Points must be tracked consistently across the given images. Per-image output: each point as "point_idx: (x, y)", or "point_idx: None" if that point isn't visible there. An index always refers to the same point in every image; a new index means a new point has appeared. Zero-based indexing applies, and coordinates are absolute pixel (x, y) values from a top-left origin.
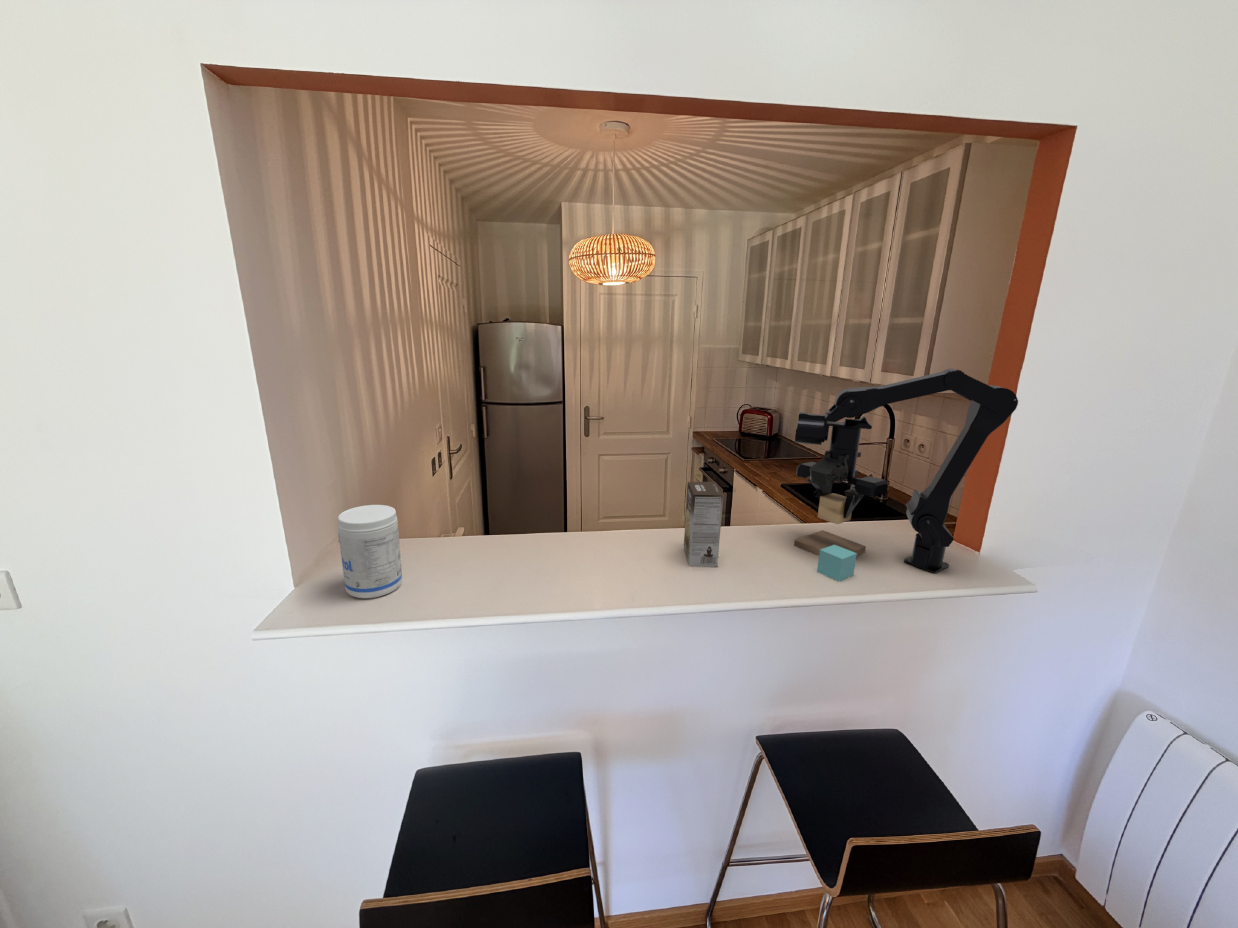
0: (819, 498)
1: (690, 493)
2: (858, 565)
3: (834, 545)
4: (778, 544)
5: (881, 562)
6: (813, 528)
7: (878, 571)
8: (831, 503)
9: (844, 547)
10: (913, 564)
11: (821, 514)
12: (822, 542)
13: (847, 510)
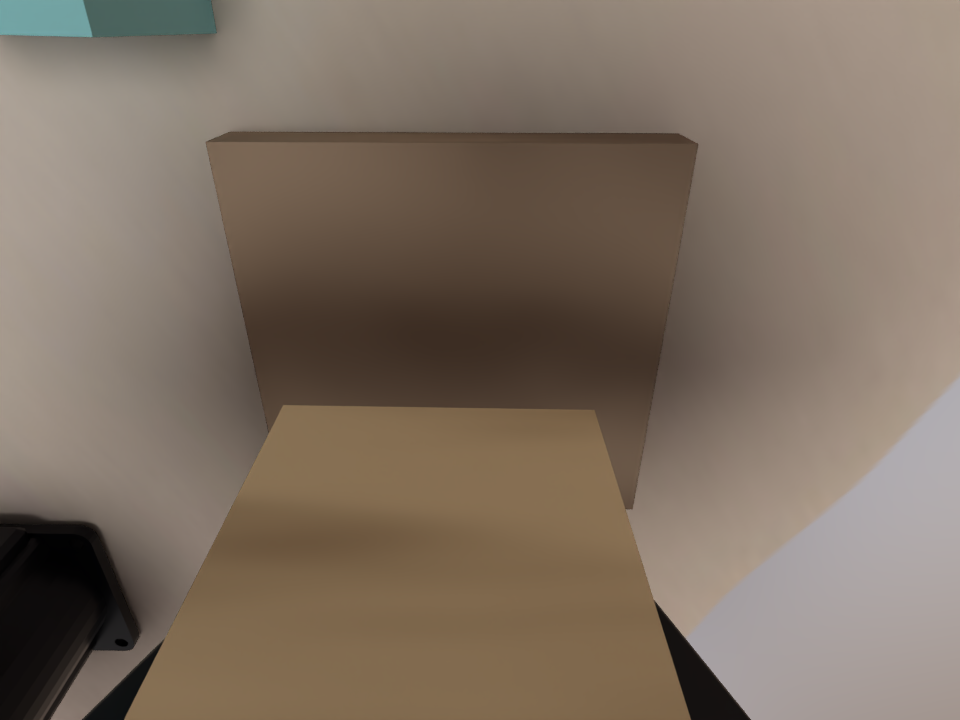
0: (728, 711)
1: None
2: (145, 254)
3: (68, 8)
4: (803, 14)
5: (135, 426)
6: (722, 531)
7: (17, 285)
8: (371, 650)
9: (338, 374)
10: (26, 528)
11: (546, 448)
12: (496, 315)
13: (151, 652)
